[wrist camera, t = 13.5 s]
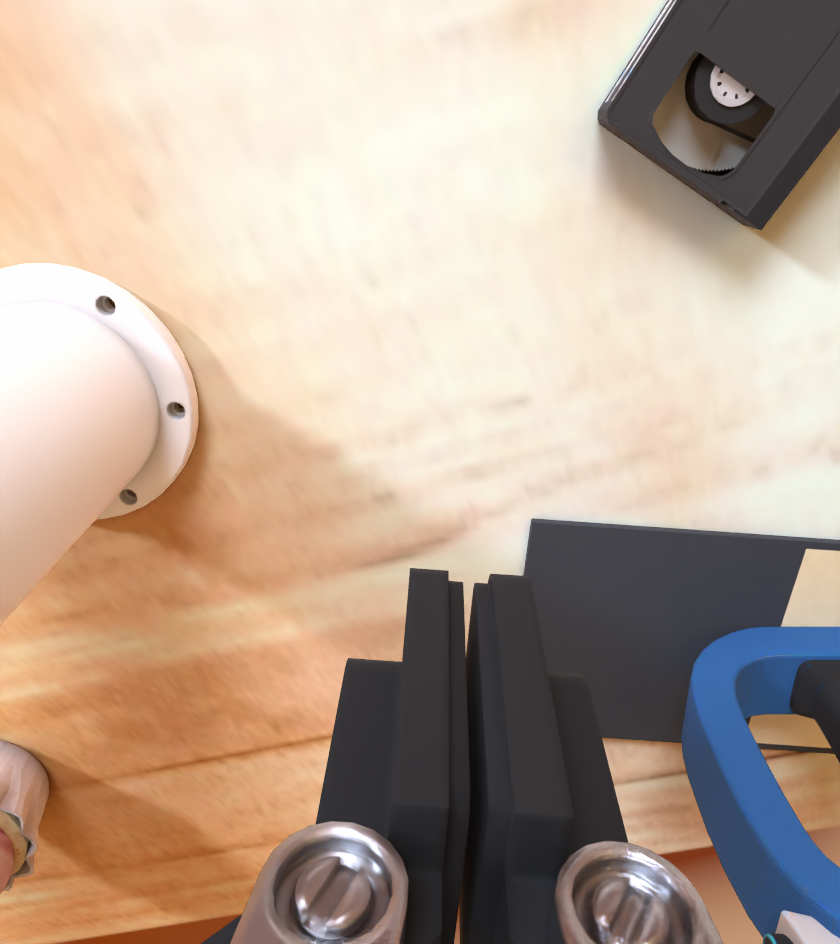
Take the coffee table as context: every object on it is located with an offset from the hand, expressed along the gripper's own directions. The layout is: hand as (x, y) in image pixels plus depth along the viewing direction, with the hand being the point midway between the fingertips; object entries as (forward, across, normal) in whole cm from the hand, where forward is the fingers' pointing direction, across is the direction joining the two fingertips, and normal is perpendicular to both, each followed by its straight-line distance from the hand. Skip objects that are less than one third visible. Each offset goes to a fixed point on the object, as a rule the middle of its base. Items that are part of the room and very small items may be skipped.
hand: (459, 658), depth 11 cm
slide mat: (+25, -19, +18) cm, 36 cm away
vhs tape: (+25, -12, -12) cm, 30 cm away
